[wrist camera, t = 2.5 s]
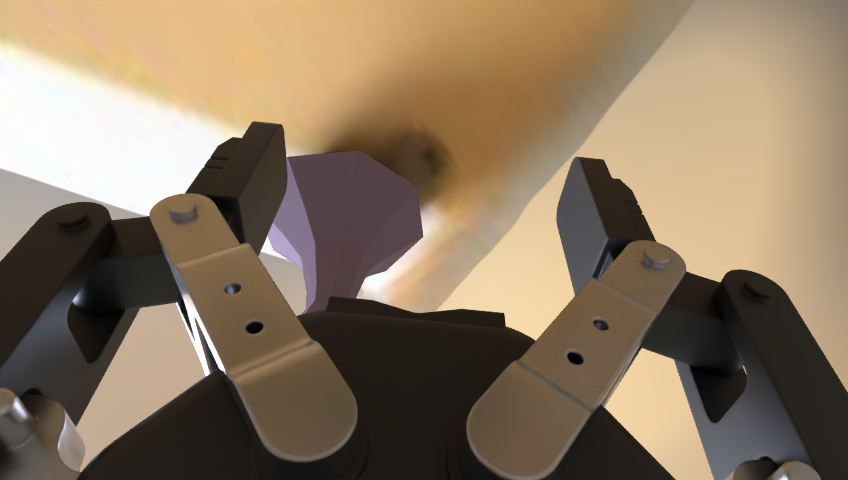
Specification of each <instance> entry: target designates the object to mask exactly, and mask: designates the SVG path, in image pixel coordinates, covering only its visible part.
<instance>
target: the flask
mask: <svg viewBox="0 0 848 480" xmlns="http://www.w3.org/2000/svg"><path fill="white" fill-rule="evenodd" d="M286 161H287V173H288V181H287V189H286V193H285V196H284V199H283V201H282V203H281V205H280V208H279V210H278V212H277V215H276V217H275V219H274V221H273V224H272V226H271V228H270V231H269V233H268V238H269V240H270V243H271V245H272V247H273V250H274V251H276V252H278V253H279V254H281V255H282V256H284V257H285V258H287V259H289V260H290V261H292V262H293V263H294V264H296V265H297V266H298V267H299V268H300V269H301V270H302V271H303V273H304V279H305V285H306V291H307V297H306V310H305V311H304V312H303V313H302V314H304V313H307V312H311V311H316V310H322V309H326V308H327V304H328V300H329V296H334V297H344V298H356V296H357V294H358V292H359V290H360V288H361V286H362V284H363V282H364V279H365V278H366V277H368V276H371V275H374V274H377V273H381V272H384V271H386V270H387V269H388V268H389V267H391V266H392V265H393V264H394V263H395V262H396V261H397V260H398V259H399V258H400V257H402V256H403V255H404V254H405V253H406V252H407V251H408V250H409V249H410V248H411V247H413V246H414V245H415V244H416V243H417V242H418V241H419V240H420V239H421V238H422V237H423V231H422V223H421V216H420V208H419V201H418V193H417V186H415V185H414V184H412V183H410V182H409V181H407V180H406V179H404V178H403V177H401V176H399V175H398V174H396V173H395V172H393V171H392V170H390V169H388V168H387V167H385V166H384V165H382V164H381V163H379V162H377V161H376V160H374V159H373V158H371V157H370V156H368V155H366V154H365V153H363V152H362V151H360V150H355V151H345V152H334V153H324V154H314V155H304V156H294V157H287V158H286Z"/></svg>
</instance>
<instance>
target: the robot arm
mask: <svg viewBox="0 0 848 480" xmlns="http://www.w3.org/2000/svg"><path fill="white" fill-rule="evenodd" d="M287 181H288V173H287V161H286V149H285V137H284V129H283V126H282V125H281V124H274V123H264V122H255V121H254V122H252V123H251V125H250V126H249V128H248V129H247V131H246V133H245V134H244V136H243V137H242V138H235V137H232V138H231V139H229V140H227V141H226V142H224V143H222V144H221V145H219V146H218V147H217V148H216V150H215V151H214V153H213V154H212V156H211V159H209V160H208V161H207V163H206V164H205V167H204V168H202V170H201V171H200V173H199V174H198V176H197V177H196V178H195V180H194V181H193V183H192V184H191V186H190V187H189V188H188V190H187V191H186V193H185V194H179V195H174V196H171V197H168V198H165V199H163V200H161V201H160V202H158V203H157V204H156V205H155V206H154V207H153V208H152V209H151V211H150V216H147V217H140V218H130V219H120V220H112V219H111V217H110V214H109V212H108V210H107V209H106V208H105V207H104V206H103V205H100V204H97V203H92V202H76V203H70V204H66V205H62V206H59V207H57V208H54V209H52V210H50V211H49V212H47V213H46V214H44V215H43V216H42V217H41V218H39V220H38V221H37V222H36V223H35V224H34V225H33V226H32V227H31V228H30V229H29V231H28V232H27V233H26V234H25V235H24V236H23V237H22V239H20V241H19V242H18V243H17V244H16V245H15V246H14V247H13V248H12V249H11V251H10V252H9V253H8V254H7V255H6V256H5V257H4V258H3V259H2V260H1V262H0V480H675V479H674V478H673V477H672V475H671V474H670V473H669V472H668V471H666V470H665V468H664V467H662V465H661V464H659V462H658V461H657V460H656V459H655V458H654V457H653V456H652V455H651V454H650V453H649V452H648V451H647V450H646V449H645V448H644V447H643V446H642V445H641V444H640V443H639V442H638V441H637V440H636V439H635V438H634V437H633V436H632V435H631V434H630V433H629V432H628V431H627V430H626V429H625V428H624V427H623V426H622V425H621V424H620V423H619V422H618V421H617V420H616V419H615V418H614V417H613V416H612V415H611V414H610V413H609V412H608V411H607V410H606V409H605V408H604V407H605V406H606V404H607V402H608V401H609V399H610V397H611V396H612V394H613V393H614V391H615V389H616V388H617V386H618V385H619V383H620V382H621V380H622V378H623V377H624V375H625V374H626V372H627V371H628V369H629V367H630V366H631V364H632V363H633V361H634V360H635V358H636V357H637V355H638V353H639V352H640V350H641V349H642V348H644V349H646V350H649V351H652V352H655V353H658V354H660V355H663V356H666V357H669V358H672V359H674V360H675V364H676V367H677V370H678V373H679V376H680V379H681V382H682V385H683V387H684V391H685V394H686V397H687V400H688V403H689V406H690V409H691V412H692V415H693V418H694V421H695V423H696V426H697V430H698V433H699V436H700V439H701V442H702V445H703V448H704V450H705V454H706V457H707V460H708V462H709V466H710V469H711V472H712V475H713V477H714V480H848V392H847V391H846V389H845V387H844V386H843V384H842V383H841V381H840V379H839V378H838V376H837V375H836V373H835V371H834V370H833V368H832V366H831V365H830V363H829V362H828V360H827V358H826V357H825V355H824V353H823V352H822V350H821V349H820V347H819V345H818V344H817V342H816V341H815V339H814V337H813V336H812V334H811V333H810V331H809V329H808V328H807V326H806V324H805V323H804V321H803V319H802V318H801V316H800V315H799V313H798V311H797V310H796V308H795V307H794V305H793V303H792V302H791V300H790V298H789V297H788V295H787V294H786V292H785V291H784V290H783V289H782V288H781V287H780V286H779V285H778V284H776V283H775V282H773V281H772V280H770V279H769V278H767V277H765V276H763V275H761V274H758V273H755V272H752V271H748V270H732V271H729V272H728V273H726V275H725V276H724V278H723V279H722V281H721V282H717V281H714V280H710V279H707V278H704V277H701V276H698V275H695V274H691V273H689V272H687V271H686V265H685V262H684V260H683V259H682V258H681V257H680V256H679V254H677V253H676V252H675V251H673V250H672V249H671V248H669V247H667V246H665V245H663V244H660V243H657V242H656V240H655V238H654V236H653V234H652V231H651V230H650V227H649V225H648V223H647V221H646V219H645V217H644V215H642V211H641V209H640V206H639V205H637V203H638V202H637V200H636V198H635V196H634V194H633V192H632V190H631V189H630V188H629V187H628V186H626V185H625V184H624V183H623V182H622V181H621V180H620V179H614V178H612V177H611V175H610V173H609V170H608V168H607V166H606V163H605V161H604V160H602V159H593V158H584V157H575V158H574V159H573V161H572V164H571V166H570V169H569V172H568V175H567V179H566V181H565V184H564V188H563V191H562V194H561V197H560V200H559V203H558V208H557V226H558V230H559V234H560V238H561V242H562V246H563V250H564V254H565V258H566V261H567V266H568V269H569V273H570V277H571V281H572V285H573V289H574V293H575V297H574V298H573V299H572V300H571V302H570V303H569V304H568V305H567V306H566V307H565V308H564V309H563V311H562V312H561V313H560V314H559V315H558V316H557V317H556V319H555V320H554V321H553V322H552V323H551V324H550V326H549V327H548V328H547V329H546V330H545V331H544V332H543V333H542V335H541V336H540V337H539V338H538V339H537V340H536V341H535V340H534V339H532V338H531V337H529V336H527V335H525V334H523V333H521V332H519V331H517V330H514V329H512V328H509V327H506V325H505V317H504V313H498V312H487V311H477V310H467V309H456V310H447V311H437V312H427V313H413V312H410V311H407V310H403V309H400V308H397V307H393V306H390V305H387V304H383V303H380V302H377V301H374V300H365V299H355V298H344V297H334V296H329V300H328V304H327V308H326V309H322V310H316V311H311V312H307V313H304V314H301V315H298V316H296V315H295V314H294V312H293V310H292V309H291V307H290V306H289V304H288V303H287V301H286V300H285V298H284V297H283V295H282V293H281V292H280V290H279V289H278V287H277V286H276V284H275V282H274V281H273V279H272V278H271V276H270V275H269V273H268V272H267V270H266V268H265V267H264V265H263V264H262V262H261V261H260V259H259V257H258V256H259V254H260V251H261V249H262V247H263V244H264V242H265V240H266V237H267V235H268V233H269V231H270V228H271V226H272V224H273V221H274V219H275V217H276V215H277V212H278V210H279V208H280V205H281V203H282V201H283V199H284V196H285V193H286V189H287ZM170 303H176V305H177V307H178V310H179V312H180V314H181V316H182V319H183V321H184V323H185V325H186V328H187V330H188V332H189V335H190V337H191V339H192V342H193V344H194V346H195V348H196V351H197V353H198V355H199V357H200V360H201V363H202V365H203V368H204V371H205V374H206V377H204V378H203V379H201V380H200V381H199V382H197V383H196V384H194V385H193V386H192V387H190V388H189V389H187V390H186V391H184V392H183V393H182V394H180V395H179V396H177V397H176V398H174V399H173V400H172V401H170V402H169V403H167V404H166V405H164V406H163V407H162V408H160V409H159V410H157V411H156V412H155V413H153V414H152V415H151V416H149V417H148V418H146V419H145V420H143V421H142V422H140V423H139V424H137V425H136V426H135V427H134V428H132V429H130V430H129V431H128V432H126V433H125V434H123V435H122V436H121V437H119V438H118V439H116V440H115V441H113V442H112V443H111V444H110V445H108V446H107V447H106V448H104V449H103V450H102V451H101V452H100V453H99V454H98V455H97V456H96V457H95V458H94V459H93V460H92V461H90V463H89V464H88V465H87V466H86V467H85V469H84V470H83V471H82V472H80V467H81V464H82V461H83V458H84V454H85V444H84V440H83V438H82V437H81V435H80V433H79V432H78V430H77V429H76V426H77V424H78V422H79V420H80V419H81V417H82V415H83V413H84V411H85V409H86V408H87V406H88V404H89V402H90V400H91V398H92V396H93V395H94V393H95V391H96V389H97V387H98V385H99V383H100V382H101V380H102V378H103V376H104V374H105V372H106V371H107V369H108V367H109V365H110V363H111V361H112V359H113V358H114V356H115V354H116V352H117V350H118V348H119V346H120V345H121V343H122V341H123V339H124V337H125V335H126V334H127V332H128V330H129V328H130V326H131V324H132V322H133V321H134V319H135V317H136V315H137V313H138V311H139V309H140V308H142V307H149V306H156V305H163V304H170ZM743 365H744V367H745V370H746V373H747V375H746V373H745V371H744V369H743Z"/></svg>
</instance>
